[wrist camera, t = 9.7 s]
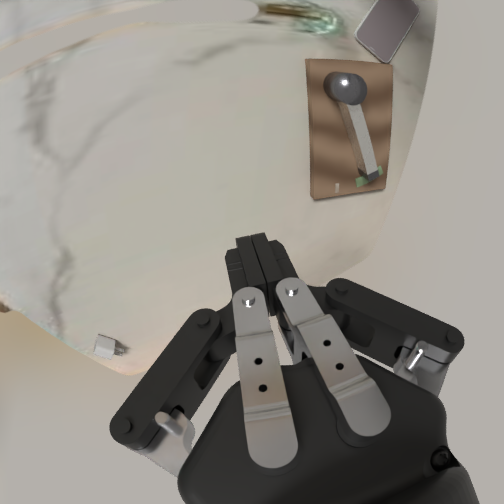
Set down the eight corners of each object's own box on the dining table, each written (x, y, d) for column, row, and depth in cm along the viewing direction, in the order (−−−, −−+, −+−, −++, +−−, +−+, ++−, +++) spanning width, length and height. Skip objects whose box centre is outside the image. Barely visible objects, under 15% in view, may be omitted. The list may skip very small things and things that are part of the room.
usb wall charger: (98, 333, 55) (96, 347, 52) (126, 341, 58) (124, 356, 55) (95, 341, 57) (93, 355, 54) (121, 350, 60) (120, 363, 57)
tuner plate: (305, 58, 31) (309, 58, 30) (386, 64, 33) (393, 65, 31) (310, 195, 45) (314, 200, 44) (380, 184, 46) (385, 189, 45)
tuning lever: (318, 77, 32) (333, 79, 28) (344, 67, 31) (361, 69, 28) (353, 176, 43) (367, 188, 39) (374, 165, 42) (389, 176, 39)
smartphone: (421, 9, 26) (387, 65, 32) (418, 9, 26) (383, 65, 33) (391, -21, 22) (353, 35, 29) (388, -20, 23) (350, 36, 30)
